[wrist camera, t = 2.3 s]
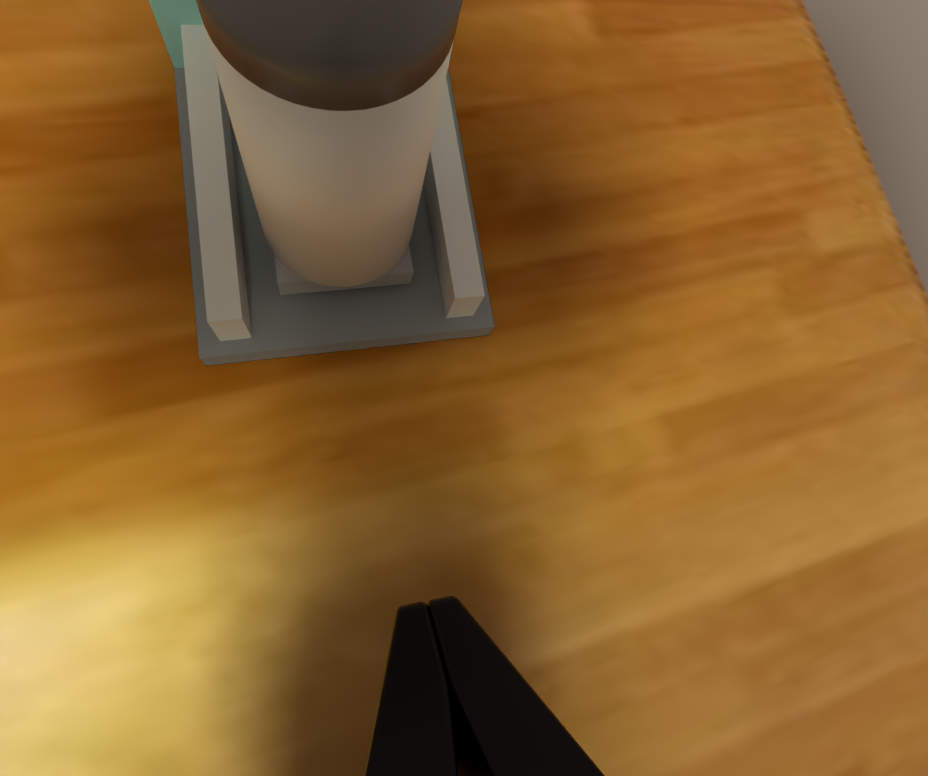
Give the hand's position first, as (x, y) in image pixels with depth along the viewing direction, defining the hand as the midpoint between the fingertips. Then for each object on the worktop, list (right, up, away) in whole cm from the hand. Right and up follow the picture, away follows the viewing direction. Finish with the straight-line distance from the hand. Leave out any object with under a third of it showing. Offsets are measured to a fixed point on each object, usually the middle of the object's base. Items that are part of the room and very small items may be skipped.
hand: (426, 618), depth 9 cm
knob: (-4, +9, +13) cm, 16 cm away
